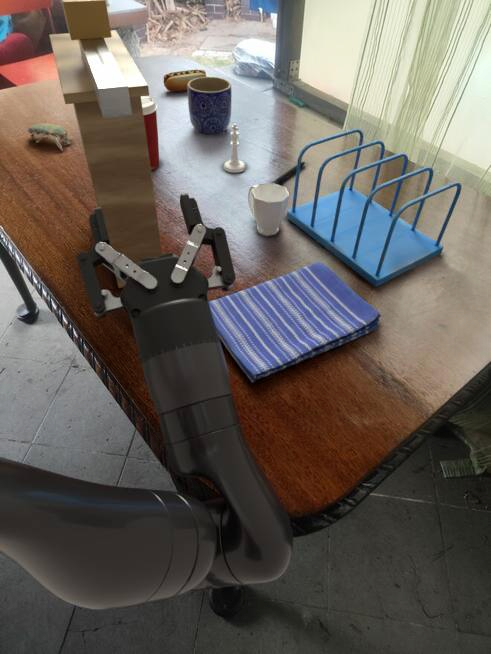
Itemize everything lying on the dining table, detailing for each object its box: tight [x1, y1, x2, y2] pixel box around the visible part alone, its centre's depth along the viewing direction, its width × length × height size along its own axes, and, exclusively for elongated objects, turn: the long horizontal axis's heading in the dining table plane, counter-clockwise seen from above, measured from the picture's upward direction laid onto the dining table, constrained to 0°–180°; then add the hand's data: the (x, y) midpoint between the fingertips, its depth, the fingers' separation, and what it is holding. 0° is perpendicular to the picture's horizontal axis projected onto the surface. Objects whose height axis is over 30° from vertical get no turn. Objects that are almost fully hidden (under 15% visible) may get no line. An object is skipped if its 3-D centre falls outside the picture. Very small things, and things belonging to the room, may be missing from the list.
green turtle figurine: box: [27, 122, 71, 152], centre depth 110 cm, size 9×11×5 cm
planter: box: [186, 76, 233, 136], centre depth 115 cm, size 11×11×11 cm
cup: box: [247, 182, 291, 237], centre depth 86 cm, size 7×10×8 cm
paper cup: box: [141, 96, 160, 171], centre depth 100 cm, size 8×8×14 cm
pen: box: [271, 161, 306, 185], centre depth 102 cm, size 1×16×1 cm, turn 143°
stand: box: [48, 29, 163, 289], centre depth 73 cm, size 25×10×31 cm, turn 20°
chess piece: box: [223, 123, 246, 174], centre depth 102 cm, size 5×5×10 cm
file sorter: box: [286, 128, 462, 288], centre depth 82 cm, size 25×17×15 cm
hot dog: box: [163, 69, 207, 93], centre depth 136 cm, size 5×13×5 cm, turn 115°
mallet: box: [60, 0, 132, 119], centre depth 53 cm, size 22×5×7 cm, turn 20°
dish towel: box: [209, 261, 382, 383], centre depth 71 cm, size 17×24×3 cm
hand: (141, 203), depth 45 cm, fingers open, 8 cm apart
